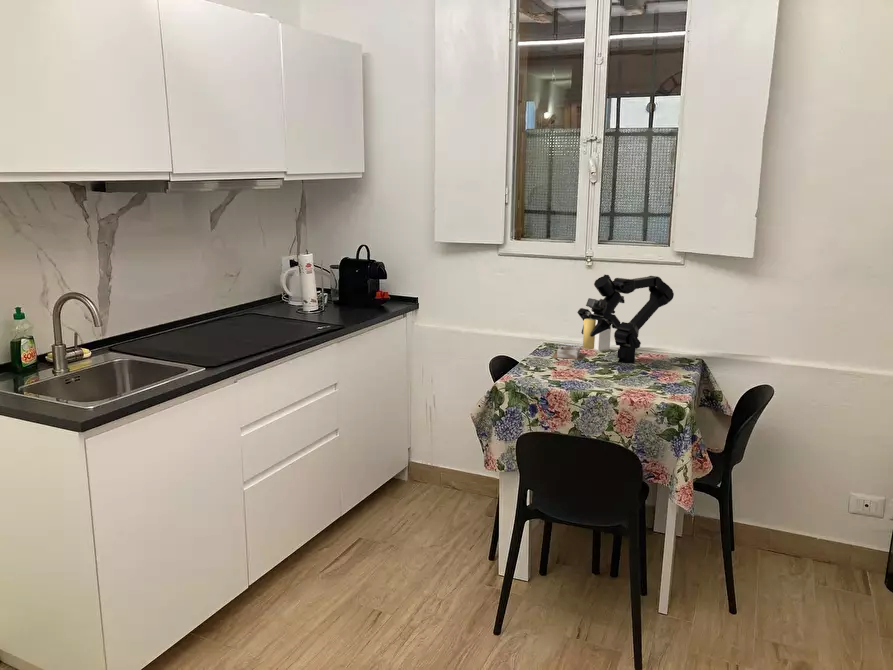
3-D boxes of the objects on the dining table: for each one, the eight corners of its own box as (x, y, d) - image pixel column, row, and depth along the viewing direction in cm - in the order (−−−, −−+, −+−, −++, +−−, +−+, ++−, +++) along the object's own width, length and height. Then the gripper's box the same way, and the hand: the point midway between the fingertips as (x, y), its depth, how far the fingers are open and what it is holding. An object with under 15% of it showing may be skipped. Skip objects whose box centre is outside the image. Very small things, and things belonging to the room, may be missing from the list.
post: (590, 346, 278) (591, 318, 276) (596, 348, 274) (598, 320, 272) (580, 346, 276) (581, 319, 274) (586, 349, 272) (588, 321, 270)
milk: (609, 352, 304) (613, 301, 299) (597, 353, 301) (601, 302, 297) (600, 349, 309) (604, 299, 305) (589, 350, 307) (592, 300, 302)
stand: (584, 357, 294) (585, 346, 293) (581, 363, 283) (581, 352, 282) (555, 354, 298) (556, 344, 297) (551, 361, 286) (551, 350, 286)
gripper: (582, 287, 280) (559, 317, 277) (617, 293, 265) (593, 325, 261) (595, 305, 286) (573, 335, 283) (630, 312, 271) (608, 344, 267)
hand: (586, 334), depth 273 cm, fingers closed on post, 4 cm apart
